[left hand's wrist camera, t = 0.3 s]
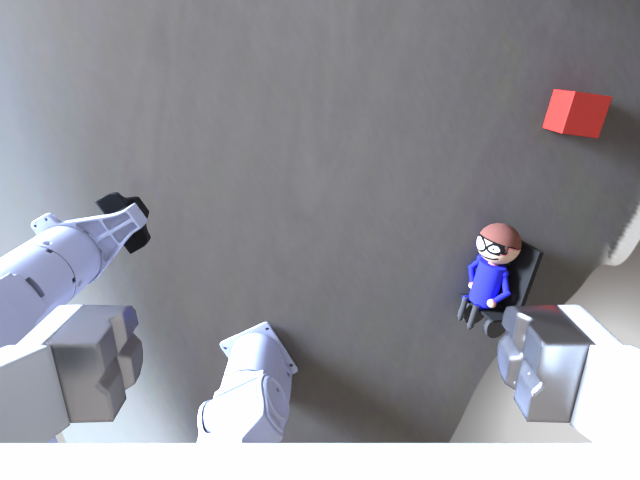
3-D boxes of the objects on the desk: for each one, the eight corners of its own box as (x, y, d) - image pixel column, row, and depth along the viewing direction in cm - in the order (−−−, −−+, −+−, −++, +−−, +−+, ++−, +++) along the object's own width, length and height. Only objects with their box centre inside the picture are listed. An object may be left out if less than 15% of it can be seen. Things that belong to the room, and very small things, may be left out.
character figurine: (445, 311, 64) (476, 211, 59) (495, 321, 64) (531, 221, 59) (456, 341, 57) (493, 230, 52) (513, 353, 57) (556, 242, 52)
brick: (542, 127, 55) (561, 133, 51) (553, 89, 53) (575, 91, 49) (576, 132, 55) (598, 138, 51) (588, 93, 54) (612, 96, 49)
